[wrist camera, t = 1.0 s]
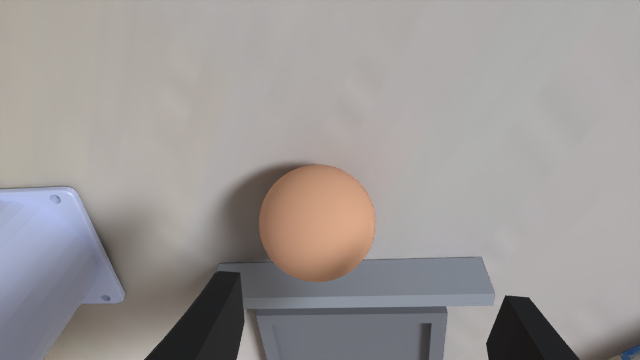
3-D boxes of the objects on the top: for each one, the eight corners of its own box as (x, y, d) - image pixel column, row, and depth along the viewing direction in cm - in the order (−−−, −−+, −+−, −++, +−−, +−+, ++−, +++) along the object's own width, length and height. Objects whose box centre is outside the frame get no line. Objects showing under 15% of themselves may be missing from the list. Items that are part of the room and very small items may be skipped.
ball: (276, 231, 22) (259, 308, 18) (260, 146, 20) (237, 213, 15) (374, 228, 22) (379, 306, 18) (371, 141, 19) (378, 208, 15)
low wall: (222, 274, 24) (210, 309, 22) (219, 263, 24) (206, 298, 22) (479, 268, 23) (493, 305, 21) (481, 257, 22) (495, 293, 20)
